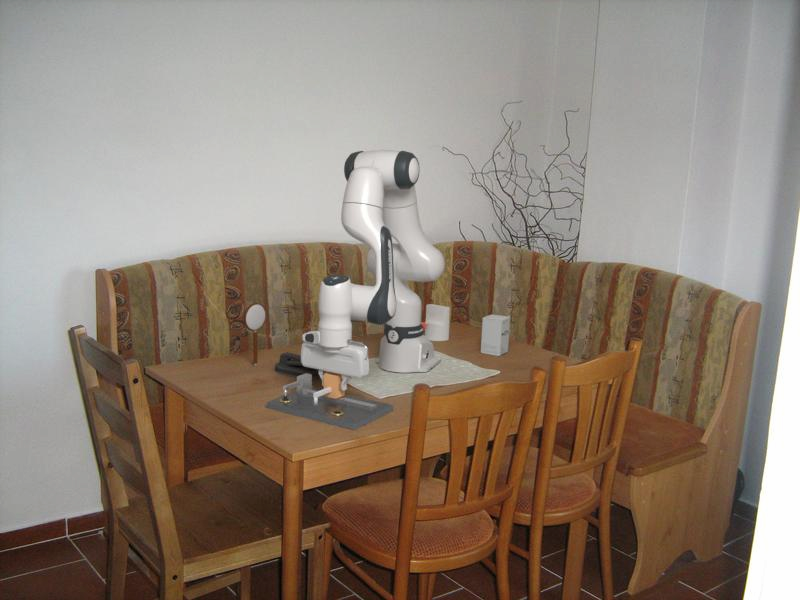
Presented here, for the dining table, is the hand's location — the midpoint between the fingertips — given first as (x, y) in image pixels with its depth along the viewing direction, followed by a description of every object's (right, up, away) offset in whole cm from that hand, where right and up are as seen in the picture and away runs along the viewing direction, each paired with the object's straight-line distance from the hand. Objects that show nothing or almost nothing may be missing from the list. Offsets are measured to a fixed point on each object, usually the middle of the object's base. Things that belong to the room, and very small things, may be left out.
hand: (334, 387), depth 207 cm
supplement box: (+50, +5, +61) cm, 79 cm away
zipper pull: (-9, 0, +27) cm, 29 cm away
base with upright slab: (+31, +9, +79) cm, 85 cm away
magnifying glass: (-28, +3, +36) cm, 45 cm away
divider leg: (-2, -3, -2) cm, 4 cm away
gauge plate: (-1, -5, -2) cm, 6 cm away
